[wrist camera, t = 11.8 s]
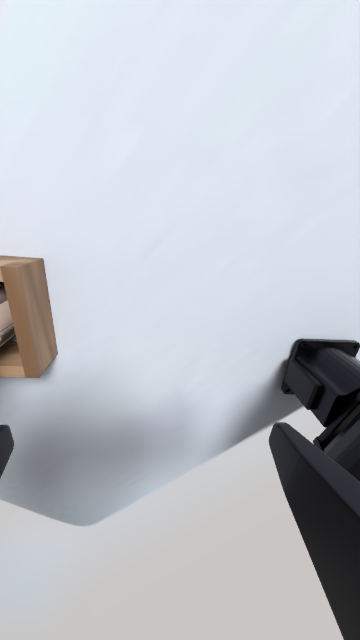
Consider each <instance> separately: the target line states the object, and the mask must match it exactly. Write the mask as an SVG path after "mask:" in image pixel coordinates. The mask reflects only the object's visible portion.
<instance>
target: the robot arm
mask: <svg viewBox="0 0 360 640" xmlns="http://www.w3.org/2000/svg"><path fill="white" fill-rule="evenodd" d="M302 343H303V345H301V344H302ZM359 348H360V344H359V343H358V342H356V341H352V340H324V339H299V340H298V341H297V342H296V345H295V348H294V351H293V354H292V357H291V360H290V362H289V365H288V369H287V372H286V375H285V378H284V382H283V385H282V388H281V390H282V391H283V393H284V394H295V395H296V396H297V397H298V399H299V400H300V401H301V403H302V404H303V405H304V406H305V408H306V409H307V410H311V411H312V412H313V414H314V415H315V416H316V418H317V419H318V420H319V421H320V423H321V424H322V425H323V426H324V427H327V428H326V429H325V430H324V431H323V432H322V433H321V434H320V435H319V437H316V438H315V439H314V440H313V443H314V444H312V443H311V442H310V441H309V440H307V439H306V438H305V437H304V436H302V435H301V434H300V433H299V432H297V431H296V430H295V429H294V428H292V427H291V426H290V425H289V424H287V423H282V422H277V423H275V424H274V425H273V428H272V431H271V434H270V437H269V445H270V448H271V452H272V455H273V458H274V461H275V465H276V468H277V471H278V474H279V478H280V481H281V484H282V487H283V490H284V493H285V496H286V498H287V501H288V503H289V506H290V508H291V511H292V513H293V516H294V518H295V521H296V523H297V525H298V528H299V530H300V533H301V535H302V538H303V540H304V543H305V545H306V547H307V550H308V552H309V555H310V557H311V560H312V562H313V565H314V567H315V570H316V572H317V575H318V577H319V579H320V582H321V584H322V587H323V589H324V592H325V594H326V597H327V599H328V601H329V604H330V606H331V609H332V611H333V614H334V616H335V619H336V621H337V624H338V626H339V629H340V631H341V634H342V636H343V639H344V640H360V361H359V360H357V359H356V358H355V357H356V354H357V352H358V350H359ZM286 389H287V390H286ZM13 447H14V440H13V437H12V434H11V430H10V427H9V426H8V425H0V478H1V476H2V474H3V471H4V469H5V467H6V464H7V462H8V460H9V458H10V455H11V453H12V451H13Z"/></svg>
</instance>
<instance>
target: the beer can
mask: <svg viewBox="0 0 360 640" xmlns="http://www.w3.org/2000/svg"><path fill="white" fill-rule="evenodd" d="M14 335H15V330H14V325H13V321H12V317H11V312H10V308H9V304H8V299H7V295H6V291H5V286H4V285H1V284H0V346H2V345H3V344H4V343H5V342H7V341H8V340H9V339H10V338H12V337H13V336H14Z"/></svg>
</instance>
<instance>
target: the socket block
mask: <svg viewBox="0 0 360 640" xmlns="http://www.w3.org/2000/svg"><path fill="white" fill-rule="evenodd" d="M0 282H4V286H5V291H6V295H7V299H8V304H9V308H10V312H11V317H12V321H13V325H14V330H15V334H16V339H17V343H11V342H5V343H4V344H3V345H2V346H0V377H34V378H39V377H40V376H41V375H42V373H43V372H44V371H45V369H46V368H47V367H48V365H49V364H50V363H51V361H52V360H53V359H54V357H55V356H56V355H57V354H58V353H57V346H56V339H55V333H54V326H53V320H52V313H51V307H50V300H49V294H48V287H47V281H46V274H45V268H44V261H43V258H28V257H13V256H0Z"/></svg>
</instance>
